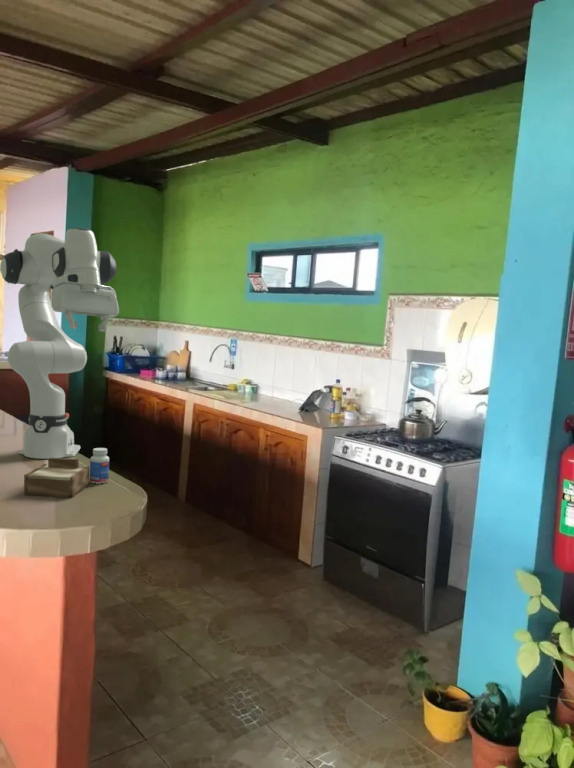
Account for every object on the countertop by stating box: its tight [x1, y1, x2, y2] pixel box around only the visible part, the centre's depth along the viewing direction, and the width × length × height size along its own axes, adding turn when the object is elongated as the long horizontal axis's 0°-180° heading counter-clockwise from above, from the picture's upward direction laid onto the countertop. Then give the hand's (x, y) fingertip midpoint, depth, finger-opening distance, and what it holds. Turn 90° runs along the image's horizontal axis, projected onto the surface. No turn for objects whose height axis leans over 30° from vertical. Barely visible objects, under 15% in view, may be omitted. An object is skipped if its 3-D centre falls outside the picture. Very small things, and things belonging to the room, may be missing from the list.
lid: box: [28, 457, 87, 481], centre depth 175 cm, size 13×11×3 cm
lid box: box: [23, 463, 90, 499], centre depth 175 cm, size 13×13×6 cm
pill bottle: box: [89, 447, 110, 485], centre depth 185 cm, size 6×5×10 cm
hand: (88, 329), depth 181 cm, fingers open, 8 cm apart
